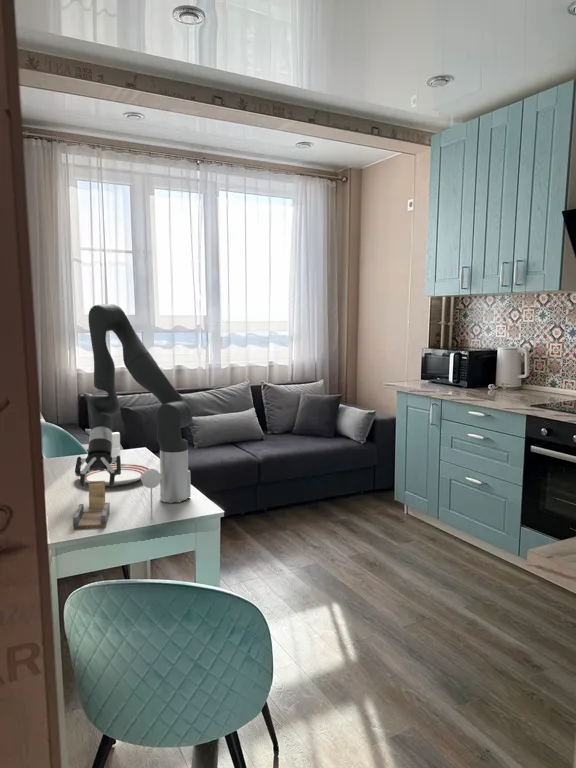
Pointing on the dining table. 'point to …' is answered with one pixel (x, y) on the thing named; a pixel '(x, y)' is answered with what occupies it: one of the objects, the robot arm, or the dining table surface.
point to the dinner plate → (127, 475)
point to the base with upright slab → (115, 445)
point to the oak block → (96, 494)
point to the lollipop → (151, 480)
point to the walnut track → (91, 518)
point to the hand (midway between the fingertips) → (97, 485)
